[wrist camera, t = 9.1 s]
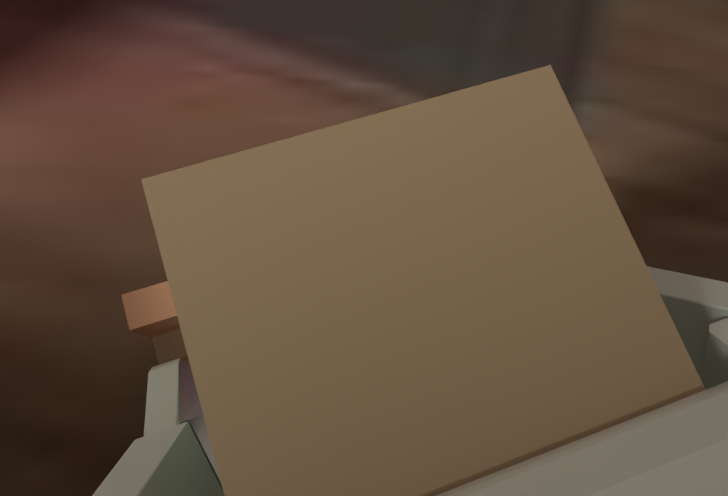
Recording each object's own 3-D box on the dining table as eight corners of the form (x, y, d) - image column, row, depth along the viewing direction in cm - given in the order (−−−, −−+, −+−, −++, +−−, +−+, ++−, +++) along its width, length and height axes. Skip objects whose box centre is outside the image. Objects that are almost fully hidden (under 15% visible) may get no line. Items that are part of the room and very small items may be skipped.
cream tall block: (305, 505, 14) (272, 680, 5) (247, 308, 15) (141, 179, 6) (495, 432, 15) (748, 478, 6) (426, 250, 16) (550, 65, 7)
